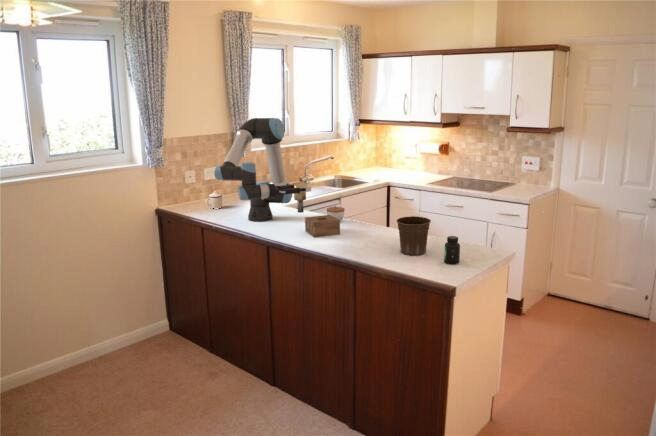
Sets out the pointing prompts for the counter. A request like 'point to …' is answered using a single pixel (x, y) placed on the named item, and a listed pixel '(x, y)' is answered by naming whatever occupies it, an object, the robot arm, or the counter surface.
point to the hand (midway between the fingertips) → (308, 187)
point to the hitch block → (322, 226)
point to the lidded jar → (336, 212)
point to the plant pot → (413, 234)
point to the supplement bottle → (452, 251)
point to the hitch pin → (300, 196)
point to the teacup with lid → (215, 200)
